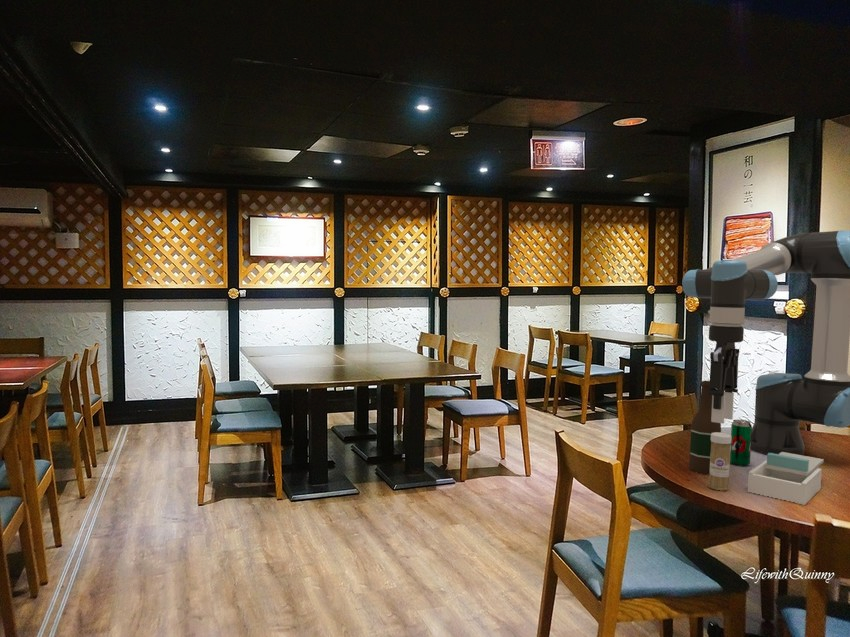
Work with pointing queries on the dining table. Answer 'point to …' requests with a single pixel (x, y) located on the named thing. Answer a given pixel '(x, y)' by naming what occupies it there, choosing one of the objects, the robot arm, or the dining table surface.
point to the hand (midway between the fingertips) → (722, 420)
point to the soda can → (740, 442)
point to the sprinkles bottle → (719, 461)
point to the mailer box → (784, 484)
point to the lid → (793, 463)
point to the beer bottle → (702, 433)
